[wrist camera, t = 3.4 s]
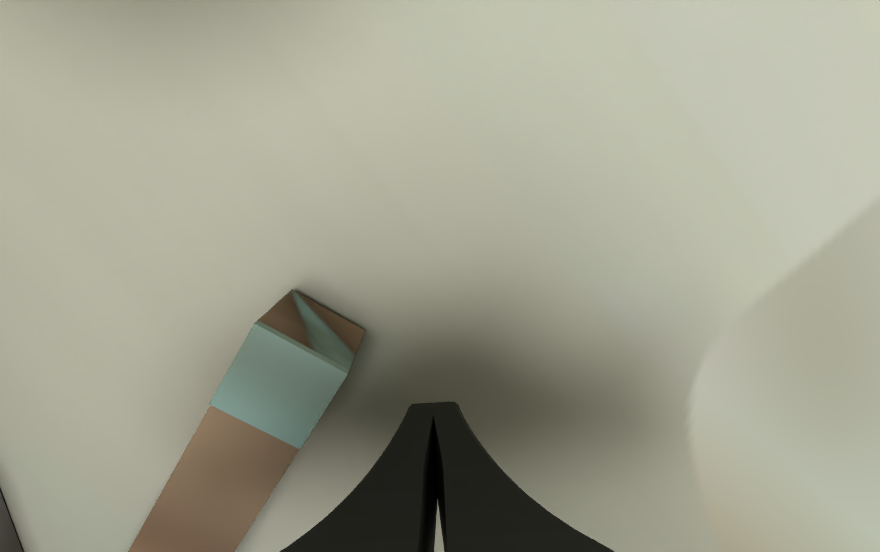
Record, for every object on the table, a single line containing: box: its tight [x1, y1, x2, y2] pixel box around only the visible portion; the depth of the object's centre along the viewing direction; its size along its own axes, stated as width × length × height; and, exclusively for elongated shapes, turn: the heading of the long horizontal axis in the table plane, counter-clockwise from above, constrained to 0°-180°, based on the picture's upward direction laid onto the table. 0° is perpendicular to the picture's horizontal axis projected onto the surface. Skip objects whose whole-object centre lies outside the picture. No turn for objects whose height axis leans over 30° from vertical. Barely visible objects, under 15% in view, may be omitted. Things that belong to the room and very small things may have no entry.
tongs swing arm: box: [128, 290, 365, 552], centre depth 12 cm, size 15×3×3 cm, turn 148°
